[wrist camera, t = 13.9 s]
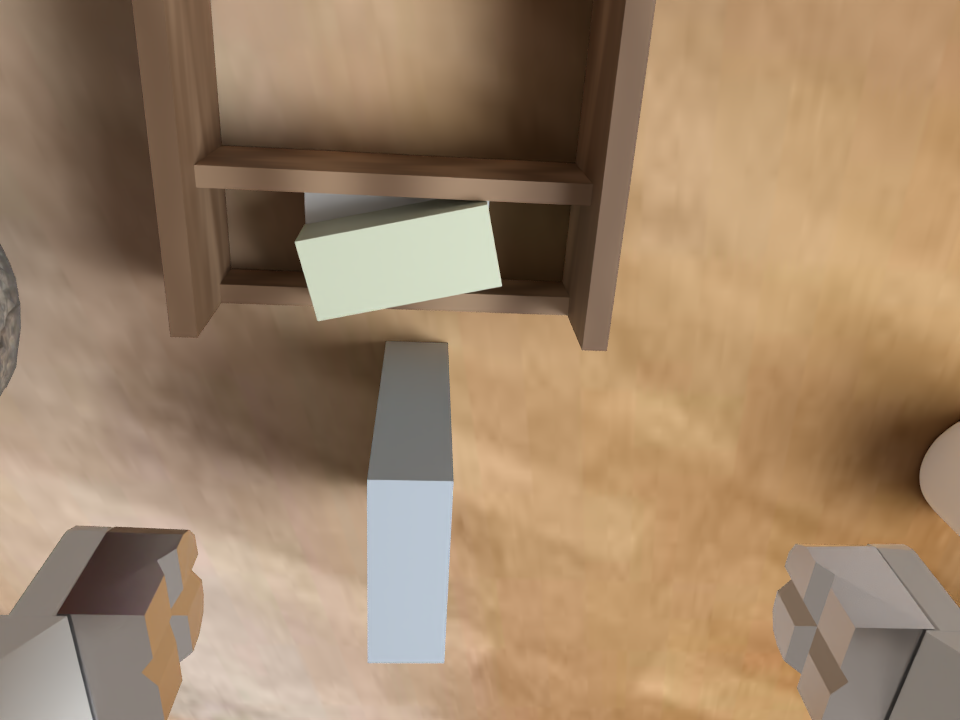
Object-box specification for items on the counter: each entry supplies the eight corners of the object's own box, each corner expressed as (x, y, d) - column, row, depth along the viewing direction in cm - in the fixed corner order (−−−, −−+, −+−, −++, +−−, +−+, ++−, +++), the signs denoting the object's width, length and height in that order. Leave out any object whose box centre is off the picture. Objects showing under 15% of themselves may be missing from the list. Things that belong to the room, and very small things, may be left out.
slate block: (447, 342, 45) (453, 481, 32) (441, 489, 49) (444, 663, 36) (386, 340, 44) (366, 479, 32) (385, 488, 49) (367, 663, 36)
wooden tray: (636, -154, 35) (682, -187, 29) (581, 299, 44) (606, 351, 38) (166, -192, 33) (104, -235, 27) (209, 285, 42) (170, 336, 36)
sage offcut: (483, 190, 38) (487, 204, 36) (497, 266, 40) (502, 286, 37) (304, 224, 39) (294, 241, 36) (325, 299, 40) (317, 321, 38)
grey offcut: (486, 177, 41) (489, 190, 38) (481, 250, 43) (485, 267, 40) (312, 168, 40) (303, 181, 38) (314, 243, 42) (306, 260, 39)
